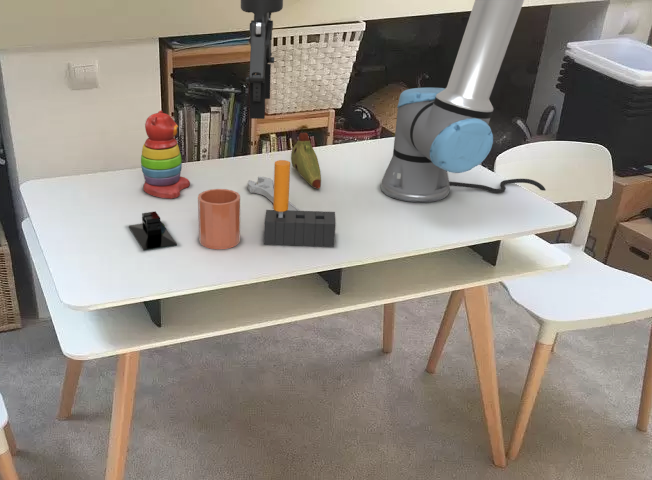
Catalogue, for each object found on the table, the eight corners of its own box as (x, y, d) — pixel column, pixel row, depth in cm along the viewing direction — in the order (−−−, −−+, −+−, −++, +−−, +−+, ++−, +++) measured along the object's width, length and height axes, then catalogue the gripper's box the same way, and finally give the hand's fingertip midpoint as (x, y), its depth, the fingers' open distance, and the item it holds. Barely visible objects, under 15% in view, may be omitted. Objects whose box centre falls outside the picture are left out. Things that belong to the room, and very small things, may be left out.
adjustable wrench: (308, 223, 162) (308, 215, 161) (279, 227, 160) (280, 219, 159) (268, 182, 182) (268, 175, 181) (242, 185, 180) (243, 178, 179)
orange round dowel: (287, 235, 156) (290, 160, 148) (286, 242, 154) (290, 165, 145) (272, 235, 156) (274, 159, 148) (272, 241, 154) (274, 165, 145)
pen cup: (241, 233, 158) (241, 189, 152) (237, 250, 151) (238, 205, 146) (202, 231, 158) (201, 188, 153) (196, 248, 151) (195, 203, 146)
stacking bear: (176, 200, 173) (172, 122, 164) (135, 195, 176) (129, 118, 166) (192, 183, 182) (190, 108, 172) (153, 179, 185) (148, 105, 175)
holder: (333, 234, 156) (335, 211, 154) (333, 247, 151) (335, 223, 149) (265, 232, 158) (266, 209, 155) (263, 244, 153) (264, 221, 150)
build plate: (128, 227, 161) (126, 206, 158) (161, 222, 163) (160, 202, 160) (143, 251, 151) (141, 229, 148) (178, 245, 153) (177, 224, 150)
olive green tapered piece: (329, 192, 176) (332, 150, 171) (307, 194, 175) (309, 152, 170) (305, 163, 193) (307, 124, 188) (284, 165, 192) (285, 125, 187)
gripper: (247, -23, 145) (247, 90, 156) (232, -3, 124) (233, 126, 135) (287, -23, 144) (283, 91, 155) (278, -3, 123) (275, 127, 134)
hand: (260, 108), depth 145 cm, fingers open, 13 cm apart
